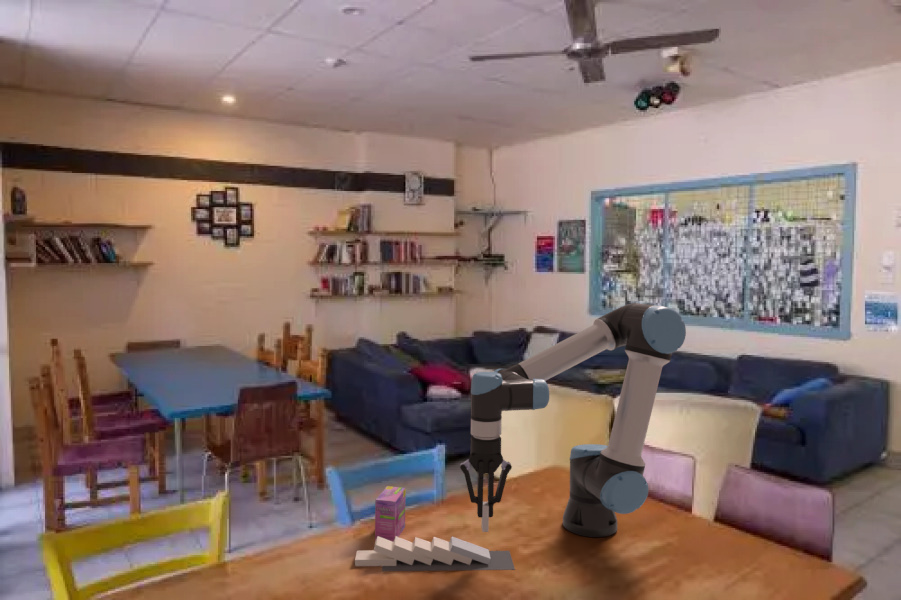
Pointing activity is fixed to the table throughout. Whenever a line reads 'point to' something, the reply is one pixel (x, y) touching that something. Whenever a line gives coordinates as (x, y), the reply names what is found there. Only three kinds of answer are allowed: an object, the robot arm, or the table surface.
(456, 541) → the domino
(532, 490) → the table surface
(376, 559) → the domino
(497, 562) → the mat
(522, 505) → the table surface
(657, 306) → the robot arm
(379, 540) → the domino
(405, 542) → the domino
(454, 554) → the domino
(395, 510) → the box
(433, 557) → the domino
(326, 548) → the table surface
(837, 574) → the table surface
